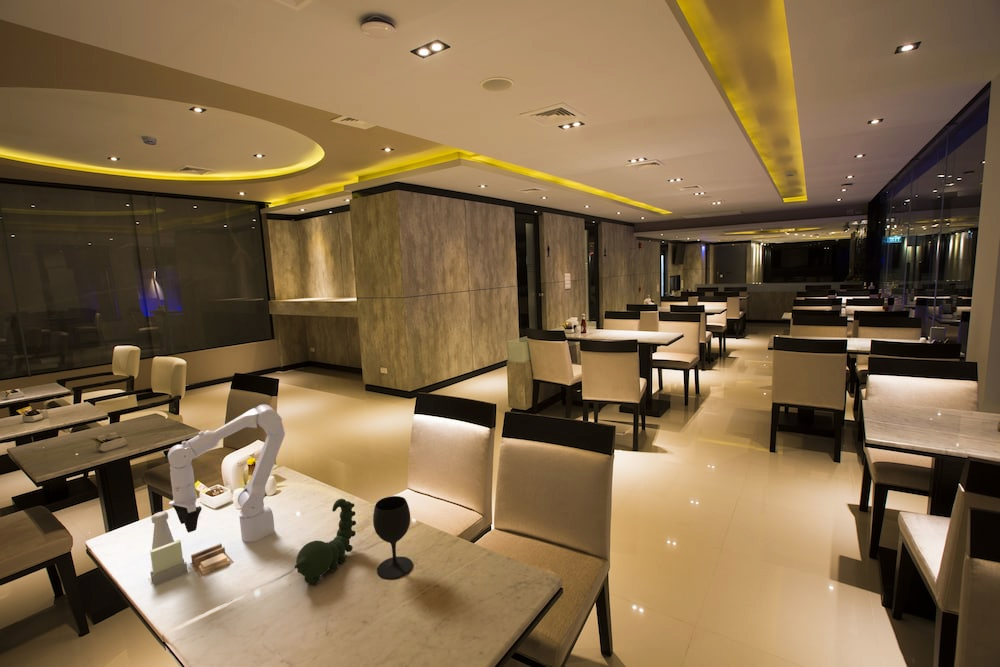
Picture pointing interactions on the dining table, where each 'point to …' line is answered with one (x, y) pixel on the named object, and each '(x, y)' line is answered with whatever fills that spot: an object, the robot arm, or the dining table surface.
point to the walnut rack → (207, 557)
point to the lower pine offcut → (214, 567)
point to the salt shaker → (161, 530)
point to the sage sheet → (166, 556)
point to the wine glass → (392, 534)
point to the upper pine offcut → (213, 561)
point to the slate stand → (168, 574)
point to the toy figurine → (327, 547)
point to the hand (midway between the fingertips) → (188, 526)
